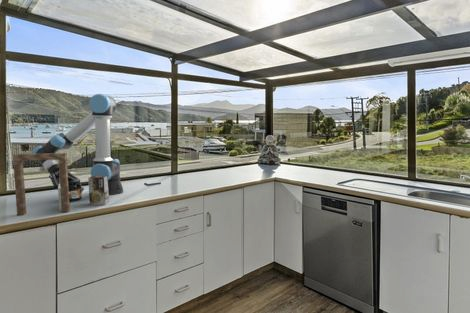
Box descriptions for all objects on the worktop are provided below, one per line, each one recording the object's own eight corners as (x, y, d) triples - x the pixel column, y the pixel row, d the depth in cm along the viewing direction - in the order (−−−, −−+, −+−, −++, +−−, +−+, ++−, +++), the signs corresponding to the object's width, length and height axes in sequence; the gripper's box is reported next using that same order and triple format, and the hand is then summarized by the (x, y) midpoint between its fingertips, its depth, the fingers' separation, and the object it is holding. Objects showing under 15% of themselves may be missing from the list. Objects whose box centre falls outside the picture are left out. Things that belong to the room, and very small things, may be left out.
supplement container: (76, 201, 181) (75, 182, 179) (59, 201, 181) (57, 182, 180) (85, 197, 191) (84, 179, 190) (69, 197, 191) (68, 179, 190)
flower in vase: (83, 191, 211) (81, 155, 209) (80, 194, 200) (78, 157, 198) (62, 192, 207) (60, 156, 205) (58, 195, 197) (55, 157, 194)
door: (66, 210, 161) (65, 187, 160) (59, 210, 159) (58, 188, 158) (66, 203, 174) (65, 183, 173) (60, 204, 173) (58, 183, 171)
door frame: (69, 210, 162) (66, 153, 158) (68, 212, 159) (64, 153, 156) (19, 213, 156) (15, 154, 153) (17, 215, 153) (12, 154, 150)
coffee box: (109, 202, 180) (108, 175, 178) (105, 205, 173) (104, 177, 172) (94, 202, 180) (92, 175, 178) (89, 205, 173) (87, 177, 172)
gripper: (64, 168, 199) (85, 192, 197) (33, 174, 175) (57, 201, 174) (70, 160, 197) (92, 184, 196) (40, 165, 174) (64, 192, 172)
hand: (76, 192), depth 185 cm, fingers open, 12 cm apart
